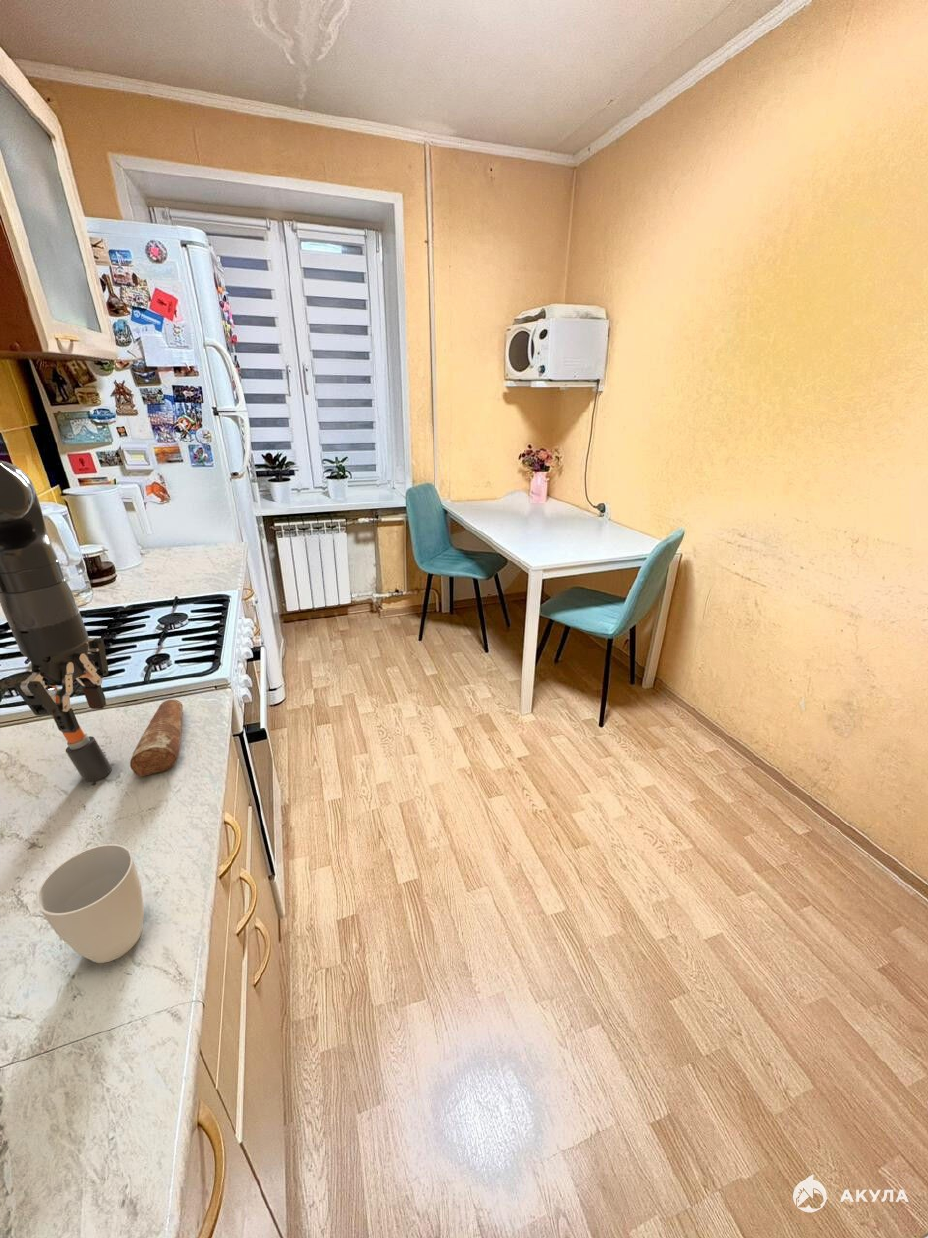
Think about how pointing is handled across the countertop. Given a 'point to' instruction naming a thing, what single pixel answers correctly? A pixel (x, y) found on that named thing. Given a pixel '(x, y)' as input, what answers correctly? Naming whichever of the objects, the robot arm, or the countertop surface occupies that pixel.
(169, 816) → the countertop surface
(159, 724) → the bread
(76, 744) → the brush
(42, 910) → the cup
